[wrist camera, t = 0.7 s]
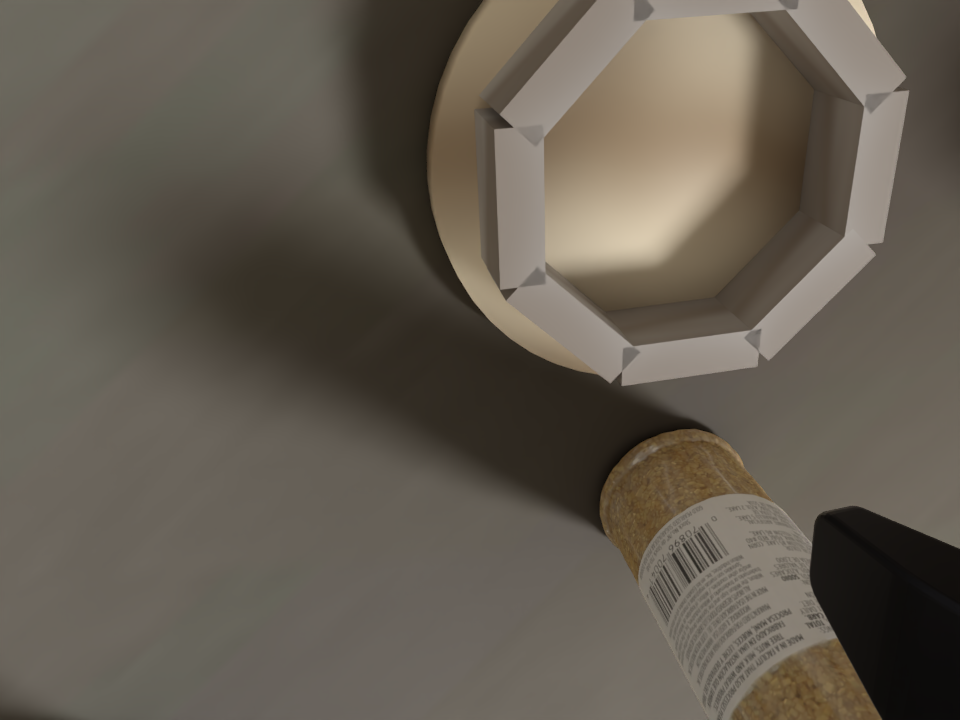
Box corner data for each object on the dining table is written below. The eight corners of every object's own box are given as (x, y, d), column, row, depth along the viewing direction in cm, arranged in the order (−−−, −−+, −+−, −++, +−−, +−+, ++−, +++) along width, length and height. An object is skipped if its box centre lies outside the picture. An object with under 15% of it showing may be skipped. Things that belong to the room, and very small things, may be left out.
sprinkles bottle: (649, 573, 28) (924, 1065, 16) (564, 491, 26) (810, 988, 14) (766, 482, 27) (1145, 926, 15) (690, 391, 25) (1061, 824, 13)
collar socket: (828, 331, 25) (893, 381, 22) (442, 385, 23) (463, 446, 21) (896, -113, 20) (991, -116, 17) (407, -87, 18) (430, -85, 15)
